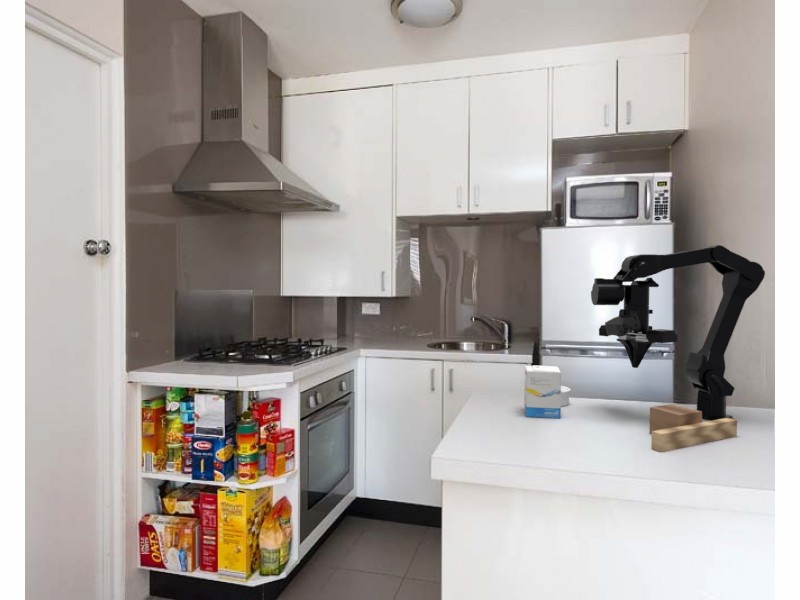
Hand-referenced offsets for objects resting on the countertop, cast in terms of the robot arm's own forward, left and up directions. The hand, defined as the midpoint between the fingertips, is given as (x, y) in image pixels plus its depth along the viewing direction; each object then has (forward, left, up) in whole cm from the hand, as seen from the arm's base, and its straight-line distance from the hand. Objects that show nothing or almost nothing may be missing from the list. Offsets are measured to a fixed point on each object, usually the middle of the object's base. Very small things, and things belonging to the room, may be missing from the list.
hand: (635, 367), depth 121 cm
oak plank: (+6, +20, -12) cm, 24 cm away
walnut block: (+6, +16, -12) cm, 21 cm away
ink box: (+20, -11, -12) cm, 26 cm away
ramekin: (+10, -18, -12) cm, 24 cm away
